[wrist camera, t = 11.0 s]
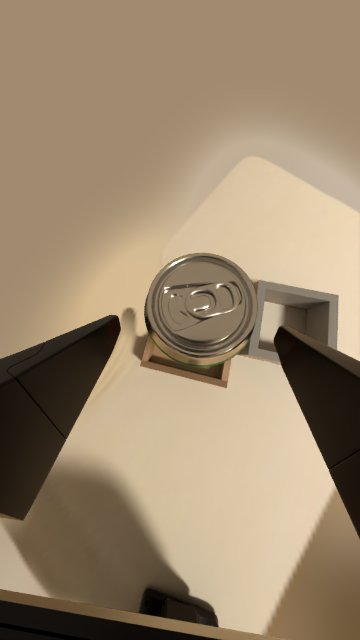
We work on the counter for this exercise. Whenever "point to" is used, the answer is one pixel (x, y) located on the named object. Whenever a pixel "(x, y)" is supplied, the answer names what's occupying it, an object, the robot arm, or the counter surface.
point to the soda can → (201, 309)
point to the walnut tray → (184, 366)
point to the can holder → (317, 304)
